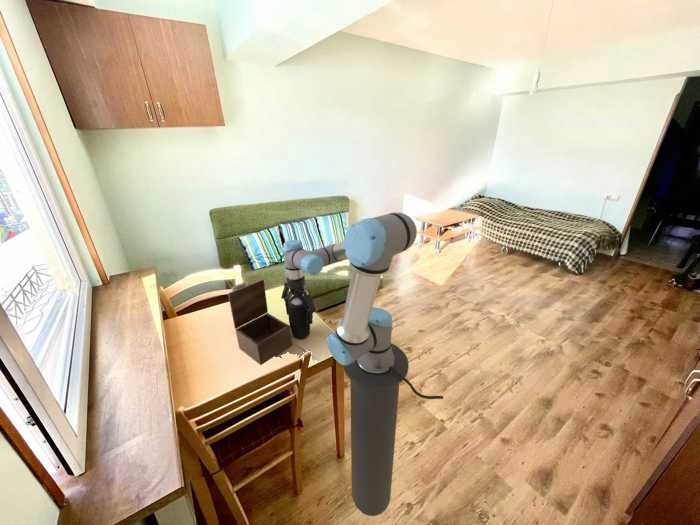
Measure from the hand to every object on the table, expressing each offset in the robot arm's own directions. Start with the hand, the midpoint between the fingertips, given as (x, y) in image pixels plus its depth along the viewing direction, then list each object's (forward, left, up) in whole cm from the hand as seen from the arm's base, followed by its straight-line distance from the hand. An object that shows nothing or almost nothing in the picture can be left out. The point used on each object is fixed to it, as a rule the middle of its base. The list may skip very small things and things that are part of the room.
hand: (299, 318), depth 125 cm
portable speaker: (0, 0, -9) cm, 9 cm away
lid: (+13, +15, +10) cm, 22 cm away
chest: (+6, +15, -9) cm, 18 cm away
